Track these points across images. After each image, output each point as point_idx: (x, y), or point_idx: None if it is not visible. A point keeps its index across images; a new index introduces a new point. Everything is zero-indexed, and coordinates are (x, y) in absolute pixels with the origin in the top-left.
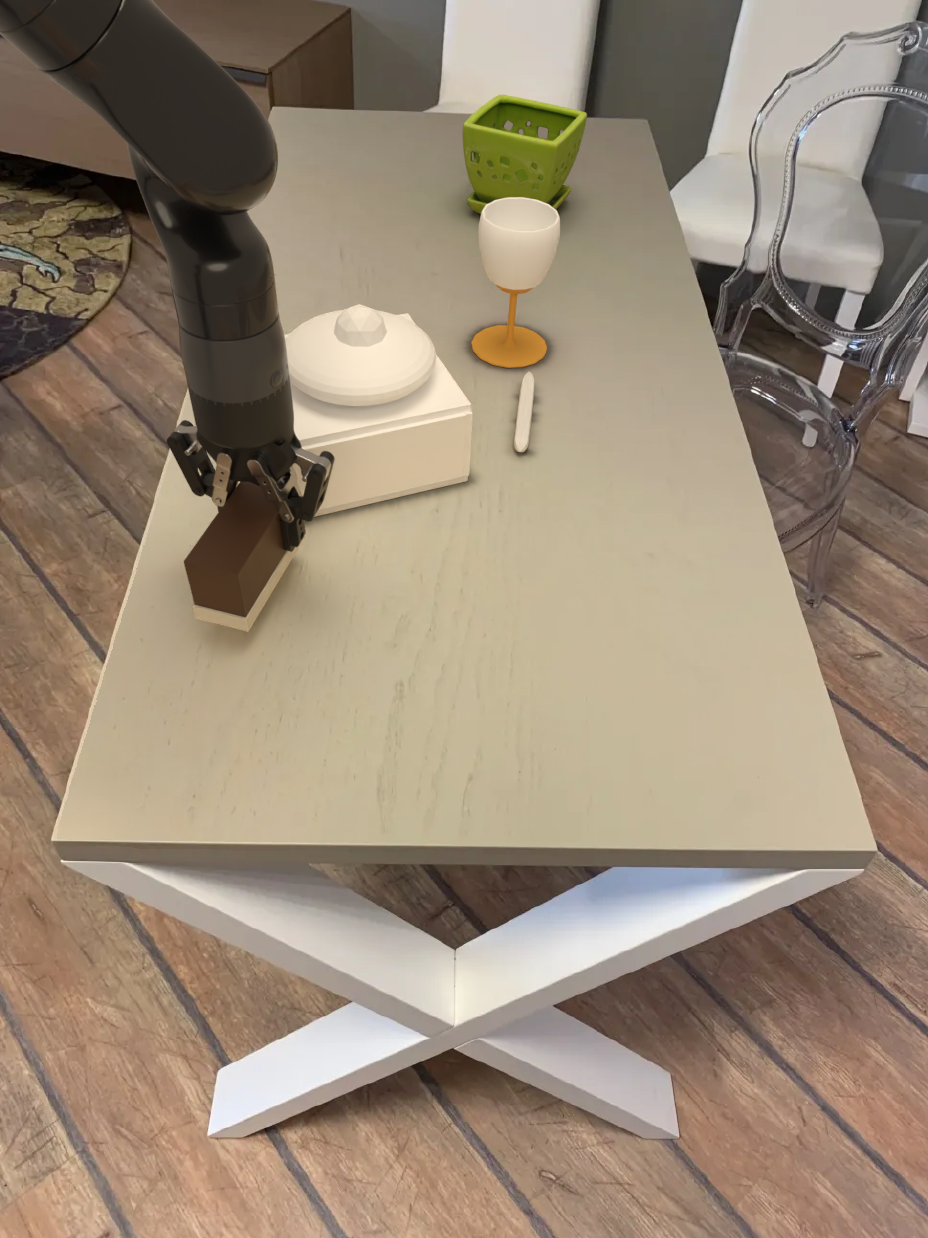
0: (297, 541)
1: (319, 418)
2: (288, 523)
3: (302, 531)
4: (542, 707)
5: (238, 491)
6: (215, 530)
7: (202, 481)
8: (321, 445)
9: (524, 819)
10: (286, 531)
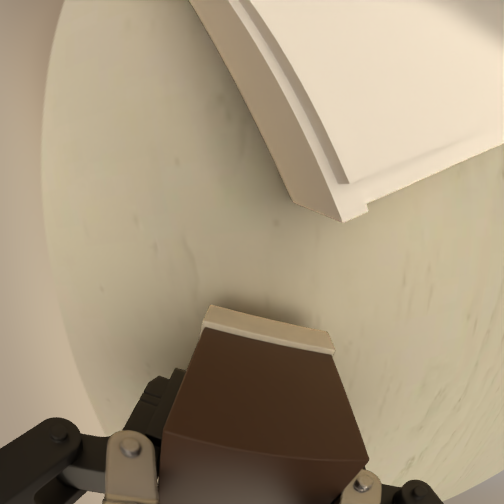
0: None
1: (429, 6)
2: None
3: None
4: (497, 435)
5: (174, 492)
6: None
7: (73, 497)
8: (455, 161)
9: (447, 494)
10: None
